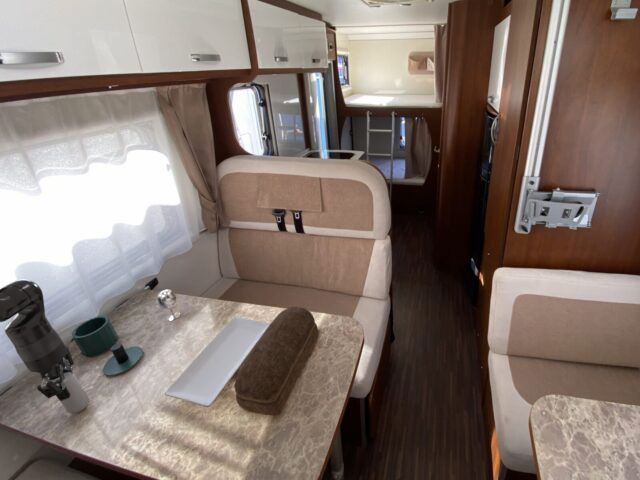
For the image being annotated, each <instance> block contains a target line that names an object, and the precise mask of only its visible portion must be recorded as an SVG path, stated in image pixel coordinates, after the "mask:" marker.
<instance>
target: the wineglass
mask: <svg viewBox="0 0 640 480" xmlns="http://www.w3.org/2000/svg"><path fill="white" fill-rule="evenodd" d="M176 302H177V296H176V294H175V293H174V292H173V290H172V289H170V288H168V289H164V290H162V291H160V292H159V293H158V294H157V303H158V305H159V306H160V307H161V308H162V309H169V310H170V313H171V314H169V315H168V316H167V320H168V321H174V320H177V319H178V318H179V317H180V316H181V312H179V311H175V312H174V311H173V306H174V305H175V303H176Z"/></svg>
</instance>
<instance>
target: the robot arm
mask: <svg viewBox="0 0 640 480" xmlns="http://www.w3.org/2000/svg"><path fill="white" fill-rule="evenodd" d="M11 318H12V319H11ZM10 319H11V320H10ZM8 320H10V321H9V322H8V323H7V324H6V325H5V328H4V333H5V335H6V337H7V338H8V340H9V341H10V342H11V344H12V345H13V347H14V349H15V352H16V354H17V355H18V357H19V358H20V359H21V361H22V362H23V364H24V365H25V367H26V368H27V370H28V371H29V372H32V373H39V374H40V378H41V380H42V383H41V384H39V385H37V387H36V389H37V391H38V392H40V394H42V395H43V396H44V397H46V398H47V399H51V398H52V397H55V396H56V398H57V399H58V401H59V402H60V401H63V400H65V399H68V398H69V397H70V395H71V394H70V393H69V391H68V390H67V388H66V387H65V385H64V382H63V381H64V379H65V376H64V373H66V372H72V373H73V374H74V375H75V373H74V371H73V370H74V369H73V365H75V361H74V359H73V357H72V354H71V351H70V349H69V347H68V346H66V344H65V343H64V341H63V339H62V338H61V337H60V335H59V333H58V332H57V331H56V329H55V328H54V327H53V326H52V325H51V323H50V321H49V320H48V318H47V316H46V308H45V299H44V294H43V290H42V288H41V287H40V285H39V284H38V283H36V282H35V281H33V280H30V279H27V278H24V279H23V278H22V279H16V280H14V281H12V282H10V283H8V284H7V285H4V286H3V287H1V288H0V323H4V322H6V321H8ZM57 378H60V379H58V380H55V381H53V380H54V379H57ZM56 384H59V387H58V386H57V385H56Z"/></svg>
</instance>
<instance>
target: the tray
mask: <svg viewBox="0 0 640 480" xmlns="http://www.w3.org/2000/svg"><path fill="white" fill-rule="evenodd" d="M270 324H271V322H270V323H269V322H265V321H260V320H256V319H250V318H245V317H240V316H234V317H233V318H231V319H230V321H228V322H227V323H226V325H224V326H223V328H222V329H220V331H219V332H218V333H217V334H216V335H215V336H214V337H213V338H212V340H210V342H208V343H207V344H206V346H205V347H204V348H203V349H202V351H201V352H200V353H199V354H198V355H197V356H196V357H195V358H194V359H193V360H192V362H191V363H190V364H189V365H188V366H187V367H186V368H185V369H184V370H183V371H182V372H181V374H180V375H178V377H177V378H176V379H175V380H174V381H173V383H172V384H171V385H169V387H168V388H167V390H165V391H164V396H166V397H170V398H174V399H178V400H182V401H185V402H188V403H191V404H195V405H198V406H201V407H205V408H209V407H211V406H213V404H214V402H215V401H216V400H217V399H218V397H219V396H220V395H221V394H222V392H223V391H224V389H225V388H226V386H227V385H228V384H229V382H230V381H231V379H232V378H233V377H234V375H235V374H236V373H237V371H238V370H240V368H241V367H242V365H243V363H244V362H245V360H246V359H247V357H248V356H249V354H250V353H251V351H252V350H253V348H254V346H255V345H256V344H257V343H258V341H259V340H260V338H261V337H262V335H263V334H264V332H265V331H266V329H267V328H268V327H269V325H270Z"/></svg>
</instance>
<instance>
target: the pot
mask: <svg viewBox="0 0 640 480" xmlns="http://www.w3.org/2000/svg"><path fill="white" fill-rule="evenodd" d="M70 335H71V337H72V339H73V341H74V342H75V345H77V348H78V349H79V351H80V352H81V354H82V355H83V356H84V357H85V358H94V357H97V356H100V355H102V354H104V353H107V352H108V351H109V350H111V347H112V346H113V345H115V344H117V343H118V340H119V336H118V333H117V332H116V330H115V328H114V326H113V324H112V322H111V320H110V318H109V316H107V315H99V316H94V317H91V318H89V319H87V320H84V321H83V322H82V323H80V324H79V325H77V326H76V327H75V328H74V329H73V330H72V332H71V334H70Z"/></svg>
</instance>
